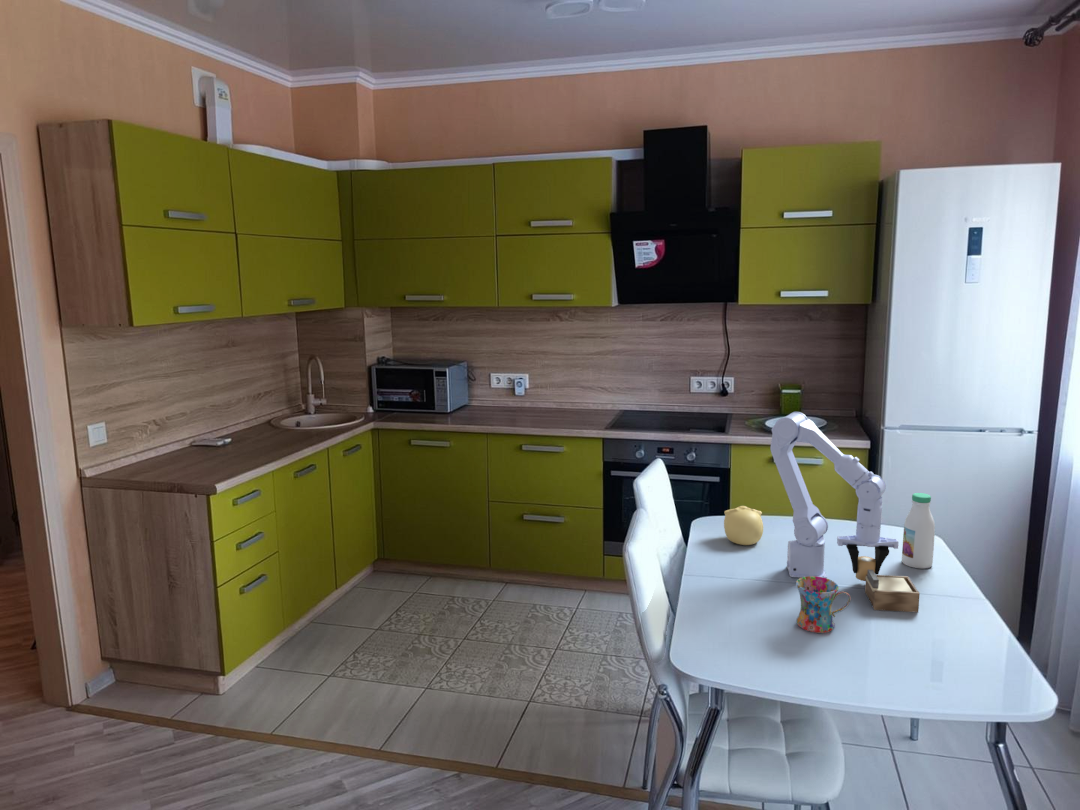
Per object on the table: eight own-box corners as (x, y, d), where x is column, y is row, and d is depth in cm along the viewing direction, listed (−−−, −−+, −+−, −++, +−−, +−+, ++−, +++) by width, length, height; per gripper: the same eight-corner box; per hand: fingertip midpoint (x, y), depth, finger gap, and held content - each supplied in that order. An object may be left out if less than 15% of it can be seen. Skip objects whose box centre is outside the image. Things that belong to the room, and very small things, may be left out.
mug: (795, 634, 176) (796, 590, 174) (793, 616, 185) (795, 574, 183) (851, 639, 173) (853, 595, 171) (846, 621, 182) (848, 578, 180)
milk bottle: (931, 560, 215) (936, 492, 211) (932, 571, 208) (938, 500, 204) (901, 557, 218) (905, 489, 215) (901, 567, 211) (906, 497, 208)
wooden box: (874, 609, 187) (875, 591, 186) (865, 592, 196) (866, 574, 195) (918, 612, 185) (919, 593, 184) (906, 594, 195) (908, 576, 194)
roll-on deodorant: (857, 580, 198) (858, 562, 197) (853, 573, 203) (855, 555, 202) (876, 581, 198) (877, 563, 197) (872, 574, 202) (873, 556, 201)
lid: (872, 591, 187) (873, 581, 186) (865, 577, 195) (866, 567, 194) (912, 593, 185) (913, 583, 185) (903, 579, 193) (904, 569, 193)
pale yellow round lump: (759, 534, 239) (760, 501, 237) (765, 549, 227) (767, 514, 225) (721, 534, 240) (722, 501, 238) (726, 548, 228) (727, 513, 226)
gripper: (842, 526, 195) (839, 576, 197) (903, 529, 192) (899, 580, 195) (836, 517, 202) (833, 566, 204) (895, 520, 199) (892, 569, 202)
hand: (865, 572), depth 200 cm, fingers closed on roll-on deodorant, 5 cm apart
